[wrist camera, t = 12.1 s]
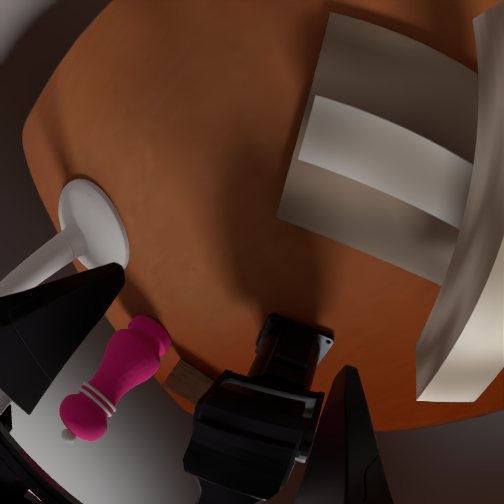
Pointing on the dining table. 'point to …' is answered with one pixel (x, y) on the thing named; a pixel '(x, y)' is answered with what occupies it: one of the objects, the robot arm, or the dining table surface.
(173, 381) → the wood plank
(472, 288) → the cream beige bar
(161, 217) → the dining table surface
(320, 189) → the ridge stand
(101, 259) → the candlestick
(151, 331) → the pepper mill
